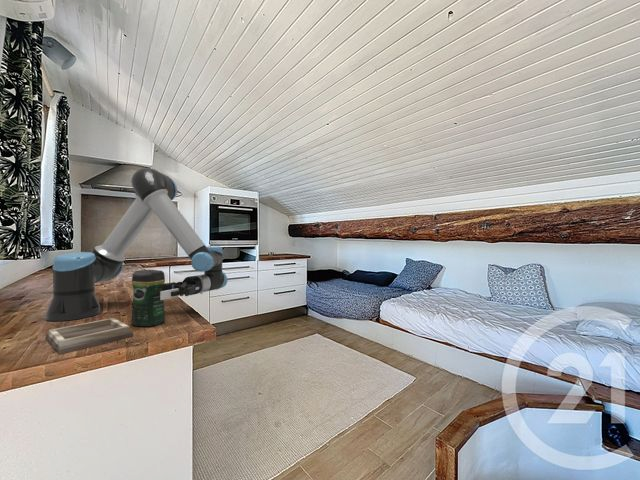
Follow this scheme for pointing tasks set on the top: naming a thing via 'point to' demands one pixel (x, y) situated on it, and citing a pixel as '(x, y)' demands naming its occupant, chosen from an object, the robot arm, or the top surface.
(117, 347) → the top surface
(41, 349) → the top surface
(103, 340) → the board
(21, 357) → the top surface
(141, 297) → the coffee jar
